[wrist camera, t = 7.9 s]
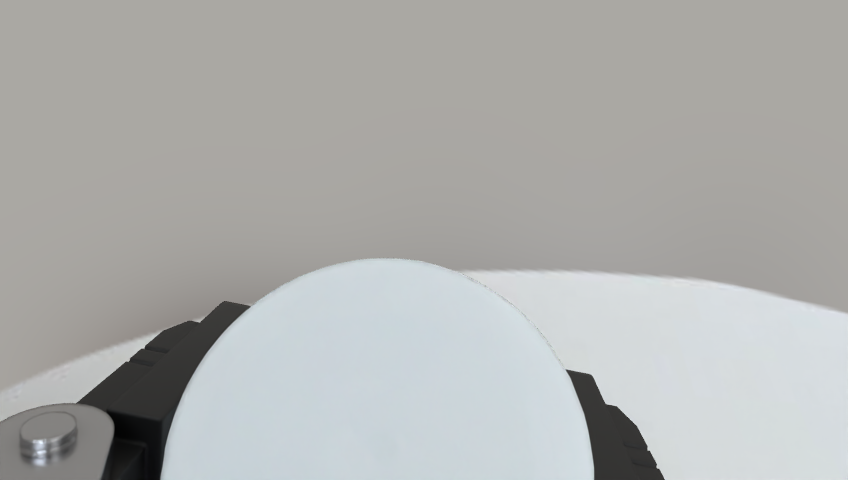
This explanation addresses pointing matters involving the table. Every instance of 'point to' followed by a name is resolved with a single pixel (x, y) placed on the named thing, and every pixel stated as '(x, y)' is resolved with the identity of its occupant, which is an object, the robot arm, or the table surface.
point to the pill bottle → (380, 386)
